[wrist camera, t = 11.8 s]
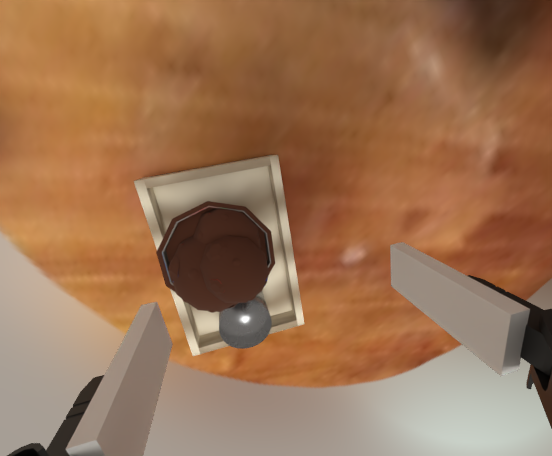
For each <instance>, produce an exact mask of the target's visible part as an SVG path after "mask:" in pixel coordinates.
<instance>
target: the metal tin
mask: <svg viewBox="0 0 552 456" xmlns="http://www.w3.org/2000/svg"><path fill="white" fill-rule="evenodd" d="M271 325H272V321H271V317H270V313H269V310H268V307H267V304H266V301H265V297H264V294H263V291H262V292H260V293H259V294H257V295H256V297H255V298H254V300H251V301H248V302H246V303H238V304H236V305H235V306H234V307H232V308H228V309H225V310H223V311H221V312H219V333H220V336H221V338H222V339H223V341H224V342H225V343H226V344H228V345H230V346H232V347H235V348H250V347H253V346H255V345H257V344H259V343H261V342H262V341H263V340H264V339H265V338H266V337H267V336H268V334H269V332H270V330H271Z"/></svg>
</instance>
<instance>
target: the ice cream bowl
mask: <svg viewBox="0 0 552 456" xmlns="http://www.w3.org/2000/svg"><path fill="white" fill-rule="evenodd" d="M157 256H158V259H159V263H160V266H161V270H162V273H163V277H164V280H165V284H166V286H167V287H169V288H170V289H171V290H173V291H174V292H176V294H177V295H178V296H179V297H180V298H182V300H183V301H184V302H186V303H189V304H190V305H191V306H193V307H194V308H196V309H197V310H201V311H208V312H211V313H213V312H221V311H223V310H225V309H228V308H232V307H234V306H235V305H236V304H238V303H246V302H248V301H251V300H254V298H255V297H256V295H257V294H259V293H260V292H262V290H263V288H264V286H265V285H266V283H267V280H268V276H269V274H270V272H271V270H272V268H273V267H274V265H275V257H274V249H273V242H272V234H271V231H270V230H269V229H268V228H267V227H266V226H265V225H264V224H263V223H262V222H261V221H260V220H259V219H258V218H257V217H256V216H255V215H254V214H253V213H252V212H251V211H250V210H249V209H248V208H247V207H245V206H238V205H231V204H225V203H218V202H211V201H206V202H204V203H203V204H201V205H199V206H197V207H195V208H193V209H191V210H189V211H187V212H185V213H183V214H181V215H179V216H177V217H175V218H173V219H172V220H171V222H170V224H169V227H168V229H167V231H166V233H165V235H164V237H163V239H162V241H161V244H160V246H159V248H158V250H157Z"/></svg>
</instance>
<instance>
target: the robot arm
mask: <svg viewBox="0 0 552 456" xmlns="http://www.w3.org/2000/svg"><path fill="white" fill-rule="evenodd" d="M391 286H392V287H393V288H394V289H395V290H397V291H398V292H399V293H400V294H402V295H403V296H404V297H405V298H406V299H408V300H409V301H410V302H411V303H412V304H414V305H415V306H416V307H417V308H419V309H420V310H421V311H422V312H423V313H425V314H426V315H427V316H428V317H430V318H431V319H432V320H433V321H434V322H436V323H437V324H438V325H439V326H440V327H442V328H443V329H444V330H445V331H447V332H448V333H449V334H450V335H451V336H453V337H454V338H455V339H456V340H458V341H459V342H460V343H461V344H462V345H464V346H465V347H466V348H468V350H470V351H471V352H472V353H473V354H475V355H476V356H477V357H478V358H479V359H481V360H482V361H483V362H484V363H486V364H487V365H488V366H489V367H490V368H492V369H493V370H494V371H495V372H497V373H498V374H499V375H501V376H503V375H506V374H509V373H512V372H515V371H518V369H519V364H520V359H521V358H523V359H524V360H526V361H527V362H529V363H530V364H531V365H530V370H529V374H528V379H527V388H528V389H531V387H532V384H533V383H534V384H535V387H536V389H537V392H538V395H539V397H540V400H541V402H542V405H543V407H544V410H545V412H546V415H547V418H548V420H549V423H550V426H551V428H552V309H548V310H543V309H541V308H539V307H537V306H535V305H533V304H531V303H529V302H527V301H525V300H523V299H521V298H519V297H517V296H515V295H513V294H511V293H509V292H506V291H505V290H503V289H501V288H499V287H496V286H495V285H493V284H491V283H489V282H487V281H485V280H483V279H480V278H477V277H473V276H470V275H468V276H466V275H464V274H462V273H460V272H459V271H457V270H455V269H453V268H451V267H449V266H447V265H445V264H443V263H441V262H439V261H438V260H436V259H434V258H432V257H430V256H428V255H426V254H424V253H422V252H420V251H418V250H417V249H415V248H413V247H411V246H409V245H407V244H405V243H403V242H401V243H397V244H393V245H391ZM171 348H172V341H171V339H170V336H169V333H168V330H167V328H166V325H165V322H164V320H163V317H162V314H161V311H160V309H159V306H158V303H157V302H153V303H149V304H144V305H141V307H140V309H139V311H138V312H137V314H136V316H135V318H134V320H133V322H132V324H131V326H130V328H129V330H128V331H127V333H126V335H125V337H124V339H123V341H122V343H121V345H120V347H119V349H118V351H117V352H116V354H115V356H114V358H113V360H112V362H111V364H110V366H109V368H108V370H107V371H106V373H105V375H103V376H99V377H95V378H93V379H92V380H91V381H90V382H89V383H88V385H87V386H86V387H85V388H84V389H83V390H82V391H81V392H80V394H79V396H78V397H77V399H76V401H75V403H74V404H73V408H71V409H70V411H69V413H68V414H67V416H66V420H64V421H63V423H62V425H61V426H60V428H59V430H58V431H57V433H56V435H55V437H54V438H53V440H52V442H51V444H50V445H49V447H48V448H47V450H45V449H44V447H43V446H41V444H40V443H35V444H34V443H31V444H29V445H26V446H24V447H21V448H19V449H17V450H15V451H14V452H12V453H11V454H9V455H7V456H143V454H144V450H145V447H146V443H147V439H148V435H149V431H150V427H151V424H152V420H153V416H154V412H155V408H156V405H157V401H158V397H159V393H160V389H161V386H162V382H163V378H164V374H165V371H166V367H167V363H168V359H169V355H170V352H171Z"/></svg>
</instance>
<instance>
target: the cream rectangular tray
mask: <svg viewBox="0 0 552 456" xmlns="http://www.w3.org/2000/svg"><path fill="white" fill-rule="evenodd" d="M134 183H135V186H136V189H137V192H138V195H139V198H140V201H141V204H142V207H143V210H144V213H145V216H146V219H147V222H148V225H149V228H150V231H151V234H152V237H153V239H154V242H155V245H156V248H157V250H158V248H159V246H160V244H161V241H162V239H163V237H164V235H165V233H166V231H167V229H168V227H169V224H170V222H171V220H172V219H173V218H175V217H177V216H179V215H181V214H183V213H185V212H187V211H189V210H191V209H193V208H195V207H197V206H199V205H201V204H203V203H204V202H206V201H211V202H218V203H225V204H231V205H238V206H245V207H247V208H248V209H249V210H250V211H251V212H252V213H253V214H254V215H255V216H256V217H257V218H258V219H259V220H260V221H261V222H262V223H263V224H264V225H265V226H266V227H267V228H268V229H269V230H270V231H271V234H272V242H273V249H274V257H275V265H274V267H273V268H272V270H271V272H270V274H269V276H268V280H267V283H266V285H265V286H264V288H263V290H262V291H263V294H264V297H265V301H266V304H267V307H268V310H269V313H270V317H271V321H272V325H271V330H270V332H269V334H272V333H275V332H279V331H282V330H285V329H289V328H292V327H296V326H299V325H303V324H304V318H303V312H302V306H301V299H300V293H299V286H298V280H297V273H296V267H295V261H294V254H293V248H292V241H291V235H290V229H289V222H288V216H287V209H286V203H285V196H284V190H283V184H282V177H281V171H280V164H279V158H278V155H268V156H262V157H257V158H251V159H246V160H240V161H234V162H229V163H223V164H218V165H212V166H207V167H201V168H196V169H190V170H185V171H179V172H174V173H168V174H162V175H157V176H151V177H146V178H142V179H139V180H136V181H134ZM170 290H171V289H170ZM171 293H172V296H173V299H174V302H175V305H176V307H177V310H178V313H179V316H180V319H181V322H182V325H183V328H184V331H185V334H186V337H187V340H188V343H189V346H190V349H191V352H192V355H193V356H195V355H199V354H202V353H206V352H209V351H213V350H216V349H220V348H223V347H227V346H230V345H228V344H226V343H225V342H224V341H223V339H222V338H221V336H220V333H219V312H213V313H211V312H208V311H201V310H197V309H196V308H194V307H193V306H191V305H190V304H189V303H186V302H184V301H183V300H182V298H180V297H179V296H178V295H177V294H176V292H174V291H173V290H171Z"/></svg>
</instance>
